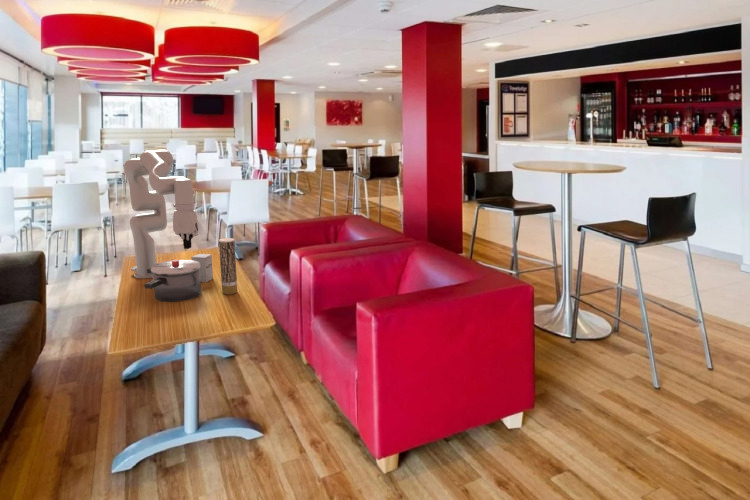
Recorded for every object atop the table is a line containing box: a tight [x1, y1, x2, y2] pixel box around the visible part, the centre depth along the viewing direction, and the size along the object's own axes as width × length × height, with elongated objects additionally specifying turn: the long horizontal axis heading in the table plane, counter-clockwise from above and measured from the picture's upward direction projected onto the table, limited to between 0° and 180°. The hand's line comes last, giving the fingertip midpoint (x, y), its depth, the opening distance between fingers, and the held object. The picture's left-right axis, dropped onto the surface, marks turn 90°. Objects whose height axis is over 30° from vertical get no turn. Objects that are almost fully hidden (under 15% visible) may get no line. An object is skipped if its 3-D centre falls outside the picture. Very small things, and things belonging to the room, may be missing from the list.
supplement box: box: [190, 253, 214, 283], centre depth 271 cm, size 7×7×13 cm
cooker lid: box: [151, 259, 200, 275], centre depth 246 cm, size 21×21×4 cm
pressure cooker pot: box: [144, 268, 202, 303], centre depth 244 cm, size 23×30×12 cm
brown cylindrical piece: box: [218, 237, 238, 295], centre depth 250 cm, size 7×7×25 cm
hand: (187, 248), depth 243 cm, fingers closed
